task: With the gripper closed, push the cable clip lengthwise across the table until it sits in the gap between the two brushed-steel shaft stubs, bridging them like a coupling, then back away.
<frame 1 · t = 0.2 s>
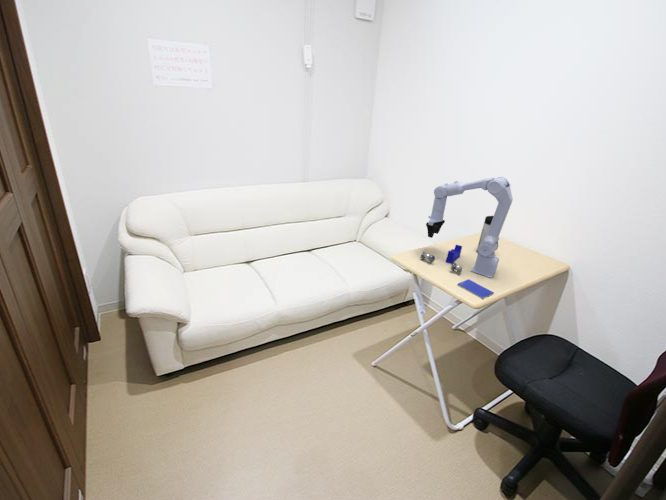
hand: (433, 235, 176), 10 cm above the table, fingers open, 7 cm apart
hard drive: (474, 291, 149), on the table
shaft B: (431, 264, 168), on the table
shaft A: (451, 270, 163), on the table
travel mug: (482, 252, 186), on the table
cable clip: (451, 259, 176), on the table
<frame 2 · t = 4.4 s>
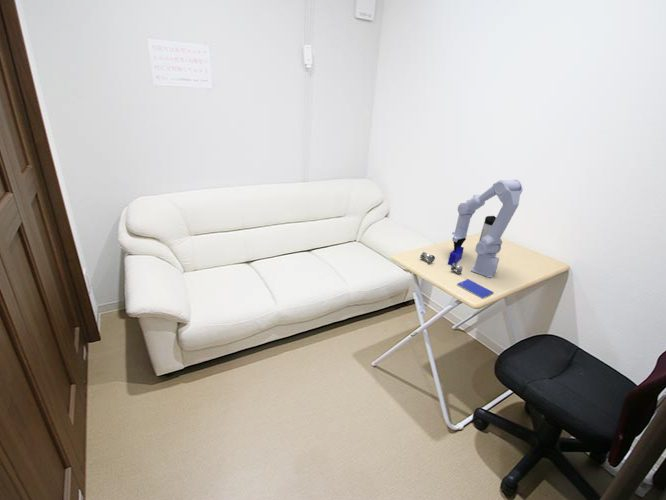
hand: (456, 250, 179), 2 cm above the table, fingers closed
cable clip: (453, 260, 174), on the table, touching gripper
everything else where it was.
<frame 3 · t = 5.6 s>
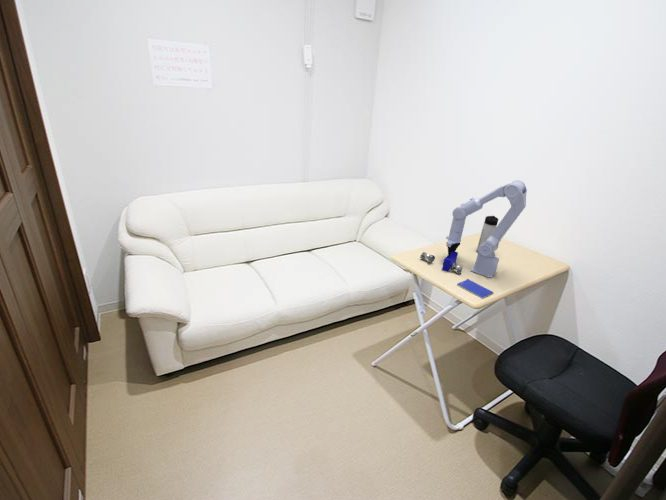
hand: (450, 255, 173), 2 cm above the table, fingers closed
cable clip: (447, 266, 167), on the table, touching gripper
everything else where it was.
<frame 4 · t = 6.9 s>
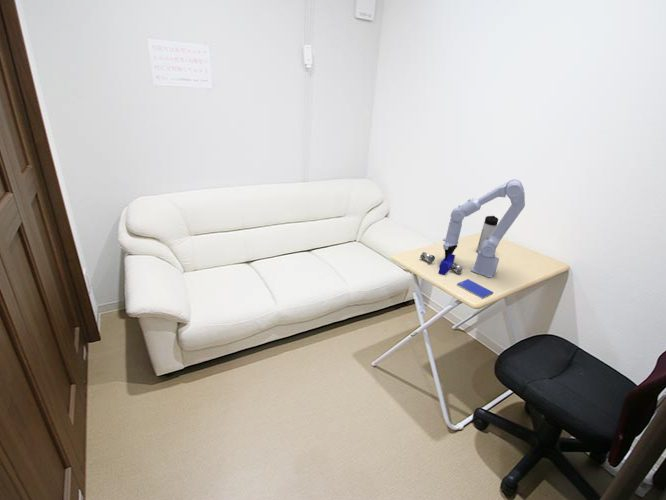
hand: (447, 258, 170), 2 cm above the table, fingers closed
cable clip: (444, 269, 164), on the table, touching gripper
everything else where it was.
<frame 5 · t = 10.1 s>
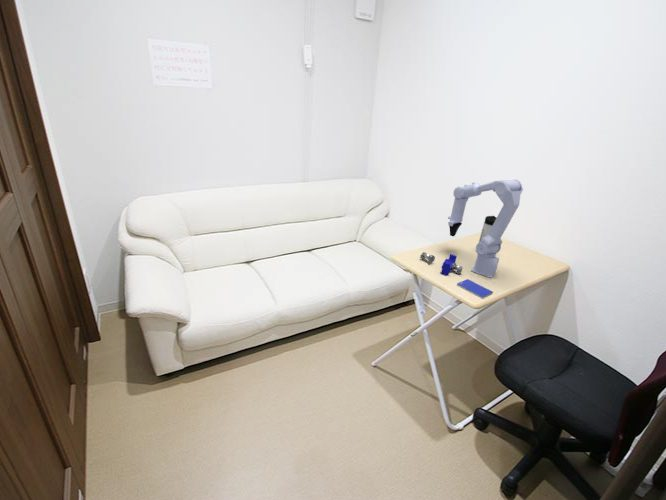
hand: (452, 235, 179), 9 cm above the table, fingers closed
cable clip: (445, 270, 164), on the table
everything else where it was.
at the end: cable clip inside the target area (2.6 cm from its centre), on the table; cable clip tilted 0°; cable clip moved 14.1 cm from its start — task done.
